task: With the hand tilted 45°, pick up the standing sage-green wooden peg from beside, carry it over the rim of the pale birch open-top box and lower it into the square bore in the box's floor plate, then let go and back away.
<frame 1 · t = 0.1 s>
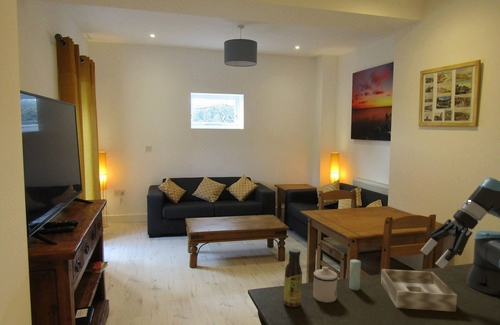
hand: (430, 259, 127), 15 cm above the kitchen counter, tool tilted 35°, fingers open, 13 cm apart
box: (415, 296, 131), on the kitchen counter
sauce bottle: (292, 304, 123), on the kitchen counter
teacup with lid: (323, 295, 130), on the kitchen counter
peg: (354, 288, 137), on the kitchen counter
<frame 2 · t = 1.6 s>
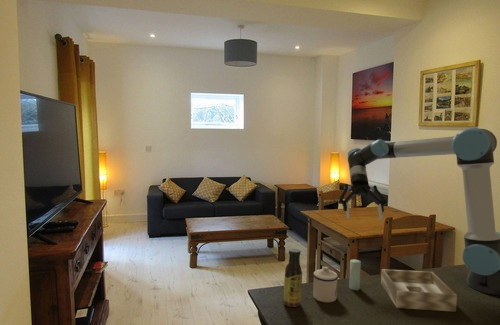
hand: (364, 218, 144), 26 cm above the kitchen counter, tool tilted 45°, fingers open, 13 cm apart
nothing on the kitchen counter moved.
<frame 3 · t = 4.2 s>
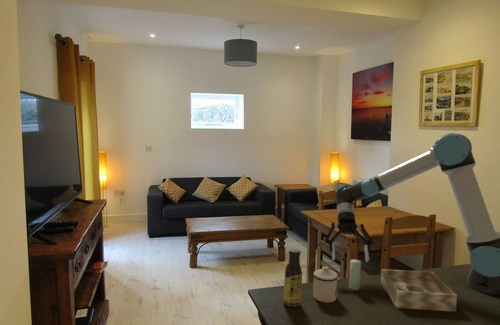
hand: (350, 259, 141), 10 cm above the kitchen counter, tool tilted 45°, fingers open, 13 cm apart
nothing on the kitchen counter moved.
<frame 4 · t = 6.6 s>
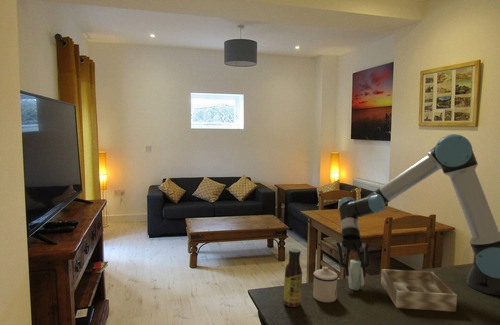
hand: (356, 284, 133), 3 cm above the kitchen counter, tool tilted 45°, fingers closed on peg, 4 cm apart
peg: (354, 287, 137), on the kitchen counter, touching gripper
everything else where it was.
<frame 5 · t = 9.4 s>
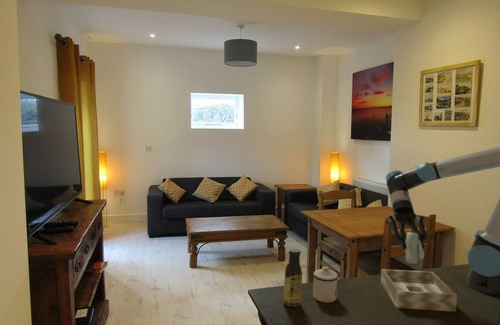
hand: (415, 257, 126), 16 cm above the kitchen counter, tool tilted 45°, fingers closed on peg, 4 cm apart
peg: (411, 261, 130), point 13 cm above the kitchen counter, touching gripper
everything else where it was.
when the fingers open (6 cm above the kitchen counter, at t = 12.3 s): peg drops 3 cm, resting in box.
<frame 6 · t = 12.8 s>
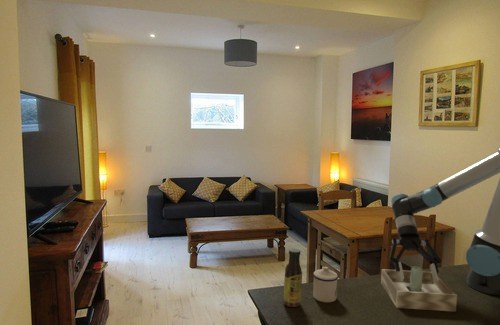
hand: (419, 280, 127), 7 cm above the kitchen counter, tool tilted 45°, fingers open, 11 cm apart
peg: (415, 296, 131), resting in box
everything else where it was.
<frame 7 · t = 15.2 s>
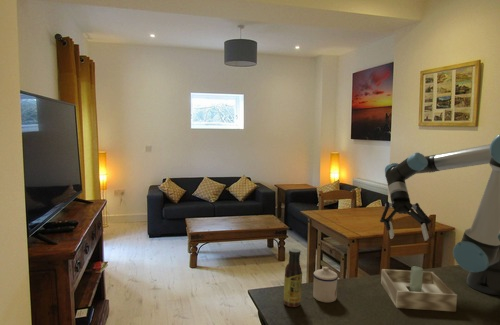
hand: (409, 238, 139), 20 cm above the kitchen counter, tool tilted 45°, fingers open, 13 cm apart
nothing on the kitchen counter moved.
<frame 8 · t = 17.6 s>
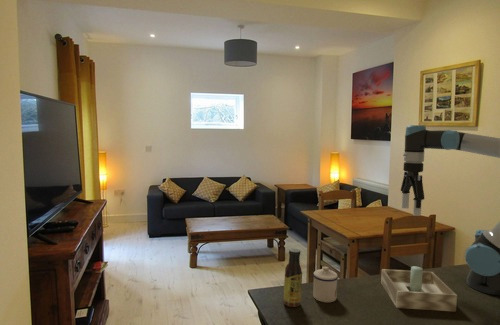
hand: (410, 211, 146), 29 cm above the kitchen counter, tool pointing down, fingers open, 13 cm apart
nothing on the kitchen counter moved.
at the end: peg 0.1 cm off-centre on the box, point 0.0 cm above the box's base; peg tilted 1°; the gripper is holding nothing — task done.
